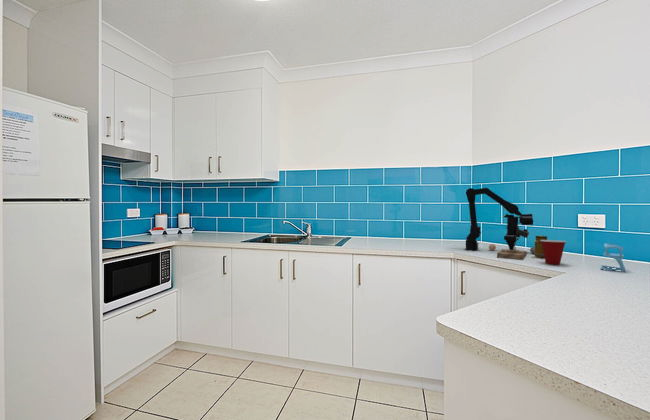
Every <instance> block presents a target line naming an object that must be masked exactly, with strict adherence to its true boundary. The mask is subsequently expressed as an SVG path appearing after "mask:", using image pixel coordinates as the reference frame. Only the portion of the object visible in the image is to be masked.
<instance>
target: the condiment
mask: <svg viewBox="0 0 650 420" xmlns="http://www.w3.org/2000/svg"><path fill="white" fill-rule="evenodd" d="M540 240H548V236H546V235H535V240H534V247H535V254H534V256H532V258H534V259H535V258H536V259H543V260H545V257H544V253H543V247H542V244H541V241H540Z"/></svg>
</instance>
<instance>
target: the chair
mask: <svg viewBox="0 0 650 420" xmlns="http://www.w3.org/2000/svg"><path fill="white" fill-rule="evenodd" d="M603 245H604V252H603V257H605V258H611V259H613V260H615V261H616V262H617V263H618V265H619V267H617V266H616V267H615V266H611V265H609V266H608V265H601V264H600V270H601V269H605V270H604V271H607V270H621V271H620V272H622V271H626V272H627V270H626V266H625V265H624V262H623V259H624V254H623V251H624V247H623V246H620V245H617V244H615V243H607V242H606V243H604V244H603ZM608 249H616V250H618V253H610V252H608ZM603 267H609V268H603ZM612 268H616V269H612Z"/></svg>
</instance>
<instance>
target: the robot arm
mask: <svg viewBox="0 0 650 420" xmlns="http://www.w3.org/2000/svg"><path fill="white" fill-rule="evenodd" d="M465 194H466V199H467V202H468V209H469V210H468V211H469V218H470V219H469V221H470V230H469V233H468V234H467V236H466V237H465V238H466V240H465V249H464V250H466V251H472V252H473V251H477V250H479V242H478V240H477V239H479V238H480V236H481V234H482V231H481V226H478V220H477V210H476V198H477V197H476V196H477V195H486V196H487V197H489V198H491V199H492V200H493V201H495V202H496V203H498V204H499V205H500V206H502V208H503V209H505V210H506V212H507V213H505V215H503V218H506V234H505V235H504V236H503V240H505V241H506V244H507V246H508V249H509V248H510V250H513V248H514V246H515V247H516V243H517V241H519V240H520V238H521V237H523V238H524V239H525V238H526V239H527V238H528V237H529V235H530V231H528V229H526V228H524V229H520V226H519V224H520V225H521V226H533V225H534V217H533V214H532V213H522V212H521V211H519V206H518V205H516V204H514V203H512V202H509V201H508V200H505V199H504V198H503V197H501V196H499V195H498V194H496V193H495V192H494V191H493V190H491V189H489V188H488V187H482V188H475V189H474V188H473V187H470V188H467V189H466V190H465ZM515 215H516V216H515Z"/></svg>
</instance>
